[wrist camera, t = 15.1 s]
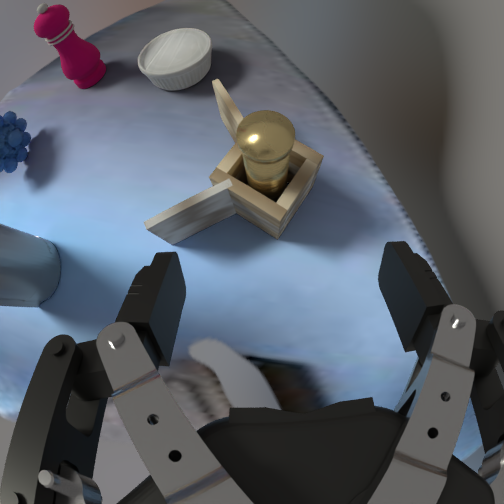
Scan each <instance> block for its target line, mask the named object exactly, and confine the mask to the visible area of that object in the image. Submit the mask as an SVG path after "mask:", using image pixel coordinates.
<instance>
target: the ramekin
mask: <svg viewBox="0 0 504 504" xmlns="http://www.w3.org/2000/svg"><path fill="white" fill-rule="evenodd" d="M211 51H212V42H211V39H210V37H209V36H208V34H207V33H205V32H203V31H201V30H198V29H193V28H182V29H176V30H172V31H169V32H166V33H164V34H162V35H160V36H158V37H156V38H155V39H153V40H152V41H151V42H149V43H148V44H147V45H146V46H145V47H144V48H143V50H142V51H141V53H140V55H139V57H138V66H139V68H140V70H141V71H142V73H143V74H145V75H146V76H147V77H148V78H149V79H150V80H151V82H152V83H153V84H154V85H155V86H157V87H158V88H161V89H164V90H172V91H173V90H181V89H185V88H188V87H190V86H192V85H194V84H196V83H197V82H199V81H200V80H201V79H202V78H203V77H204V76H205V75H206V74H207V73H208V71H209V69H210V66H211Z"/></svg>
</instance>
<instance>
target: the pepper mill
mask: <svg viewBox="0 0 504 504" xmlns="http://www.w3.org/2000/svg"><path fill="white" fill-rule="evenodd" d="M37 12H38V13H39V14H40V15H39V16H38V17H37V19H36V20H35V23H34V31H35V33H36V35H38V36H39V37H41V38H46V42H48V45H51V46H52V45H53V46H54V47H55V48H56V49H57V50H58V52H59V55H60V59H61V67H62V70H63V73H64V74H65V76H66V77H67V78H68V79H71V80H74V82H75V84H76V85H77V86H78V87H79V88H81V89H86V88H89V87H91V86H93V85H94V84H96V83H97V82H98V81H99V80H100V79H101V78H102V77H103V76H104V74H105V72H106V66H105V64H104V63H103V61H102V60H100V52H99V50H98V49H97V48H96V47H95V46H94V45H93V44H91V43H89V42H87V41H84V40H83V39H81V38H79V37H78V36H77V35H76V33H75V32H74V30H73V29H74V24H72V21H70V20H69V11H68V9H67V8H66V7H65V6H63V5H53V6H50V7H48V5H47V4H41V5H39V7H38V8H37Z"/></svg>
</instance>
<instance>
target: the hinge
mask: <svg viewBox="0 0 504 504" xmlns="http://www.w3.org/2000/svg"><path fill="white" fill-rule="evenodd" d="M212 84H213V88H214V92H215V96H216V99H217V103H218V107H219V111H220V115H221V119H222V121H223V122H224V124H225V126H226V128H227V129H228V131H229V133H230V135H231V136H232V138H233V140H234V142H235V145H234V146H233V147H232V148H231V150H230V151H229V152H228V153H227V155H226V156H225V157H224V158H223V160H222V161H221V162H220V164H219V165H218V166H217V167H216V169H215V170H214V171H213V173H212V174H211V175H210V177H209V178H210V180H211V182H212V185H213V186H212V187H210V188H208V189H206V190H204V191H202V192H200V193H198V194H196V195H194V196H192V197H190V198H188V199H186V200H184V201H183V202H181V203H179V204H177V205H175V206H173V207H171V208H169V209H167V210H165V211H163V212H162V213H160V214H158V215H156V216H154V217H152V218H150V219H149V220H147V221H145V222H144V224H145V227H146V229H147V230H148V231H150V232H151V233H153V234H155V235H156V236H158V237H160V238H161V239H163V240H164V241H166V242H168V243H169V244H171V245H174V244H176V243H178V242H180V241H182V240H184V239H186V238H188V237H190V236H192V235H194V234H196V233H198V232H200V231H201V230H203V229H205V228H207V227H209V226H212V225H214V224H216V223H218V222H220V221H222V220H224V219H226V218H228V217H230V216H232V215H234V214H236V213H237V214H238V215H240V216H241V217H243V218H245V219H246V220H248V221H249V222H251V223H252V224H254V225H256V226H257V227H259V228H260V229H262V230H263V231H265V232H266V233H268V234H270V235H271V236H273V237H274V238H276V239H277V240H278V238H279V237H280V235H281V234H282V232H283V231H284V229H285V228H286V226H287V225H288V223H289V222H290V220H291V219H292V217H293V216H294V214H295V213H296V211H297V210H298V208H299V207H300V205H301V204H302V202H303V201H304V199H305V198H306V196H307V195H308V193H309V192H310V190H311V188H312V187H313V184H314V182H315V179H316V176H317V173H318V171H319V168H320V165H321V162H322V160H323V157H324V156H323V155H321V154H319V153H318V152H316V151H314V150H313V149H311V148H309V147H307V146H306V145H304V144H302V143H300V142H299V141H297V140H294V146H293V149H292V151H291V153H290V159H289V167H288V174H287V182H288V183H290V184H289V185H288V186H287V188H286V189H285V191H284V192H283V194H282V195H281V197H280V198H279V199H278V201H277V202H276V203H275V202H274V201H272V200H270V199H269V198H267V197H266V196H264V195H262V194H261V193H259V192H257V191H256V190H254V189H252V188H251V187H249V186H247V185H248V181H247V176H246V171H245V166H244V160H243V155H242V153H241V151H240V150H239V147H238V143H237V138H236V131H237V128H238V125H239V123H240V122H241V121H242V120H243V119H244V118H243V116H242V115H241V113H240V112H239V110H238V108H237V107H236V105H235V104H234V102H233V100H232V99H231V97H230V96H229V94H228V93H227V91H226V90H225V88H224V87H223V85H222V83H221V82H220V80H219V79H216V80H213V81H212Z"/></svg>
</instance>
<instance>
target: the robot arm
mask: <svg viewBox="0 0 504 504" xmlns="http://www.w3.org/2000/svg"><path fill="white" fill-rule="evenodd" d="M60 268H61V266H60V258H59V254H58V251H57V249H56V247H55V246H54V245H53V244H52V243H51V242H50V241H48V240H46V239H43V238H41V237H38V236H34V235H31V234H28V233H25V232H22V231H20V230H17V229H14V228H11V227H8V226H5V225H3V224H0V306H15V307H39V305H40V303H41V302H42V301H45V300H47V299H48V298H49V297H51V295H52V294H53V293H54V291H55V289H56V287H57V285H58V282H59V278H60ZM378 282H379V287H380V290H381V292H382V295H383V297H384V299H385V302H386V304H387V307H388V309H389V312H390V314H391V317H392V319H393V322H394V324H395V327H396V329H397V332H398V334H399V337H400V340H401V342H402V345H403V348H404V351H405V352H409V351H415V350H416V353H417V355H418V358H417V360H416V362H415V365H414V367H413V370H412V373H411V375H410V377H409V380H408V382H407V385H406V387H405V389H404V392H403V394H402V396H401V398H400V400H399V402H398V404H397V406H396V407H395V409H394V411H393V410H390V409H387V408H384V407H378V406H374V402H373V398H372V397H370V398H363V399H357V400H350V401H342V402H338V403H335V404H332V405H329V406H326V407H324V408H321V409H318V410H315V411H312V412H309V413H304V414H301V413H294V412H288V411H282V410H277V409H271V408H266V407H265V408H230V412H229V417H225V418H221V419H218V420H215V421H213V422H211V423H209V424H207V425H205V426H203V427H202V428H200V429H199V430H197V431H196V430H195V429H194V428H193V426H192V425H191V423H190V422H189V420H188V419H187V417H186V416H185V414H184V413H183V411H182V410H181V408H180V407H179V405H178V404H177V402H176V401H175V399H174V397H173V396H172V394H171V393H170V391H169V389H168V388H167V386H166V384H165V383H164V381H163V379H162V378H161V376H160V374H159V373H158V368H159V366H169V365H170V361H171V356H172V352H173V347H174V343H175V339H176V334H177V330H178V326H179V322H180V318H181V314H182V309H183V305H184V301H185V297H186V285H185V281H184V277H183V273H182V269H181V265H180V261H179V257H178V254H177V253H176V252H159V253H156V254H155V256H154V259H153V261H152V263H151V265H150V266H144V267H143V268H142V269H141V270H140V271H139V272H138V273H137V274H136V276H135V278H134V280H133V282H132V284H131V285H132V286H130V289H129V291H128V295H126V298H125V300H124V302H123V304H122V307H121V309H120V311H119V314H118V316H117V318H116V321H115V323H112V324H110V325H108V326H106V327H105V328H104V329H103V330H102V331H101V332H100V333H99V335H98V337H97V339H96V340H92V341H87V342H82V343H78V344H76V342H75V341H74V339H73V338H72V337H71V336H69V335H58V336H56V337H54V338H52V339H51V340H50V341H49V342H48V343H47V344H46V346H45V347H44V349H43V352H42V354H41V356H40V359H39V361H38V363H37V366H36V368H35V371H34V373H33V376H32V378H31V381H30V384H29V386H28V389H27V392H26V395H25V397H24V400H23V403H22V406H21V409H20V412H19V415H18V419H17V422H16V425H15V428H14V432H13V436H12V439H11V443H10V447H9V451H8V455H7V459H6V463H5V468H4V473H3V478H2V483H1V489H0V503H1V504H102V496H101V493H100V490H99V487H98V485H97V484H96V483H95V482H94V481H93V480H92V478H93V471H94V465H95V459H96V453H97V448H98V442H99V437H100V432H101V427H102V422H103V417H104V413H105V408H106V404H107V400H108V397H112V398H113V401H114V404H115V406H116V408H117V410H118V413H119V415H120V417H121V419H122V421H123V423H124V426H125V428H126V430H127V432H128V434H129V436H130V438H131V440H132V442H133V444H134V446H135V448H136V449H137V451H138V453H139V455H140V457H141V459H142V461H143V462H144V464H145V466H146V468H147V469H148V471H149V473H150V475H149V476H148V477H147V478H146V479H145V480H144V481H143V482H141V483H140V484H139V485H138V486H137V487H136V488H135V489H133V490H132V491H131V492H130V493H129V494H128V495H126V496H125V497H124V498H123V499H122V500H120V501H119V502H118V503H117V504H504V390H503V387H502V384H501V381H500V379H499V376H498V374H497V371H496V369H495V367H496V366H497V365H498V363H499V362H500V364H501V366H502V369H503V372H504V311H498V312H496V313H495V314H494V316H493V318H492V319H491V321H485V320H478V319H475V318H474V316H473V314H472V313H471V312H470V311H469V310H468V309H466V308H465V307H463V306H461V305H456V304H453V303H452V301H451V300H450V298H449V296H448V295H447V293H446V291H445V290H444V288H443V286H442V285H441V283H440V281H439V280H438V279H437V277H436V275H435V273H434V272H432V269H431V267H430V266H429V264H428V263H427V261H426V260H425V259H423V258H422V257H421V256H420V255H418V254H417V253H413V251H412V250H411V248H410V247H409V245H408V244H407V243H406V242H405V241H397V242H387V243H386V245H385V248H384V252H383V257H382V261H381V266H380V270H379V275H378ZM70 394H71V395H70ZM69 397H70V399H69ZM469 398H471V401H472V404H473V408H474V411H475V415H476V418H477V422H478V426H479V430H480V434H481V438H482V442H483V446H484V451H485V456H484V459H483V462H482V465H481V466H480V468H479V470H478V474H477V473H476V472H475V471H473V470H472V469H471V468H469V467H468V466H467V465H466V464H464V463H463V462H462V461H460V460H459V459H458V458H456V457H455V456H454V455H453V454H452V453H453V451H454V448H455V445H456V442H457V439H458V436H459V433H460V430H461V427H462V423H463V420H464V416H465V413H466V409H467V405H468V402H469ZM68 401H69V402H68ZM67 404H68V405H67ZM66 408H67V409H66Z"/></svg>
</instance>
